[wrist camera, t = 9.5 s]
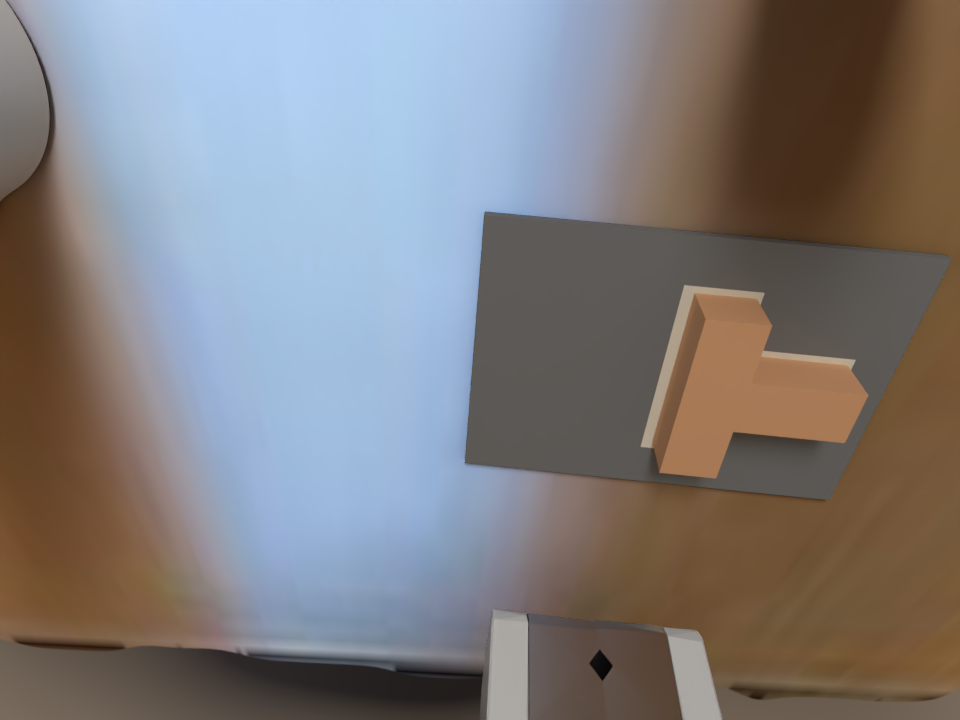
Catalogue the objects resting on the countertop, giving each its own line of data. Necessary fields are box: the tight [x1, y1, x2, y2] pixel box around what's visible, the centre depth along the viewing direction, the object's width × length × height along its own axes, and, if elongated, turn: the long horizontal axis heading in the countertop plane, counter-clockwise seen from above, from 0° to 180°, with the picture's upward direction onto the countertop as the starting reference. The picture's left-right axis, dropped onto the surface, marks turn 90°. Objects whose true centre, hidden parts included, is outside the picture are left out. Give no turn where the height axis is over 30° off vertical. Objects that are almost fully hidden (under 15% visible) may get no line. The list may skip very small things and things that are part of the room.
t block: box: [653, 293, 868, 479], centre depth 39 cm, size 10×11×3 cm
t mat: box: [465, 212, 952, 500], centre depth 41 cm, size 25×18×1 cm
